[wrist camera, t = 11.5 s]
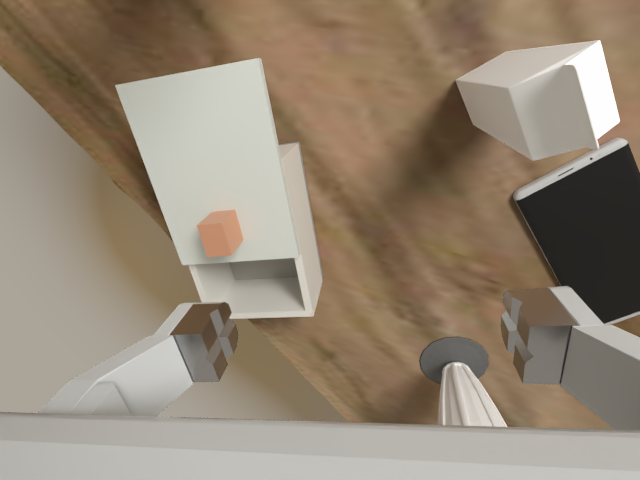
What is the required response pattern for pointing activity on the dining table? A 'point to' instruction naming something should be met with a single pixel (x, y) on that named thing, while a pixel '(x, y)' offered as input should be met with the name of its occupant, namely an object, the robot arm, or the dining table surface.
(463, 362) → the cup
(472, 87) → the milk
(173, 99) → the lid
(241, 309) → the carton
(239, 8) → the dining table surface
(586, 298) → the smartphone
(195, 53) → the dining table surface
